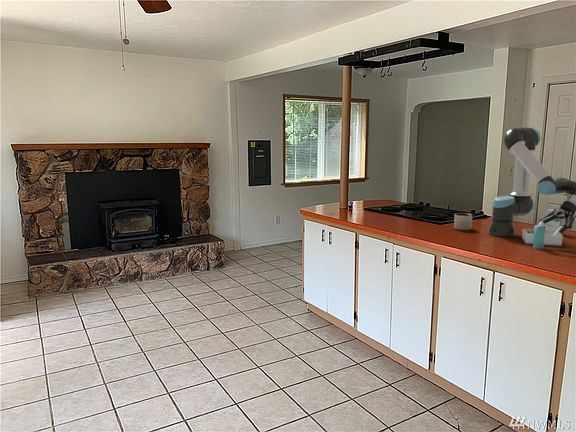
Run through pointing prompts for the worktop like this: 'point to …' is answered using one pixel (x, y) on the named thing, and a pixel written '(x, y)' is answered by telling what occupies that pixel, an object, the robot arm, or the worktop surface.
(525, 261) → the worktop surface
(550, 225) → the syrup box
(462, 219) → the planter
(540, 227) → the teal cylinder
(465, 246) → the worktop surface
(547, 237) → the grey tote
